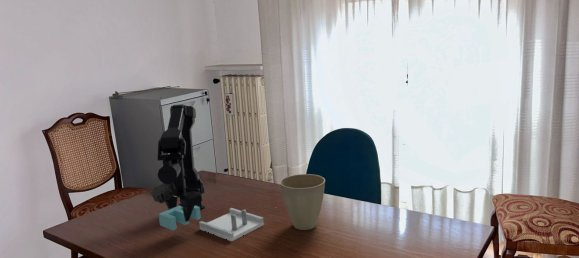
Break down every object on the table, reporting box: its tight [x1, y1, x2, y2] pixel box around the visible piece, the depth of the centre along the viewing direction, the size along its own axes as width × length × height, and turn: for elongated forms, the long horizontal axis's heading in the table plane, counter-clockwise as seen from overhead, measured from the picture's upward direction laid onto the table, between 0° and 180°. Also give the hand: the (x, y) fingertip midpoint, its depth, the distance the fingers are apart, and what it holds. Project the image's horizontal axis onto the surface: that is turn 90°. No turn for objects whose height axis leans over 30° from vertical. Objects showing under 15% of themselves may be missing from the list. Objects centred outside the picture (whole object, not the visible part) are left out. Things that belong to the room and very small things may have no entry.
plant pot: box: [279, 173, 326, 231], centre depth 152 cm, size 15×15×16 cm
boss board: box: [199, 207, 265, 242], centre depth 155 cm, size 16×15×6 cm
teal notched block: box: [158, 205, 202, 231], centre depth 149 cm, size 7×11×4 cm, turn 139°
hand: (180, 218), depth 149 cm, fingers closed on teal notched block, 7 cm apart
